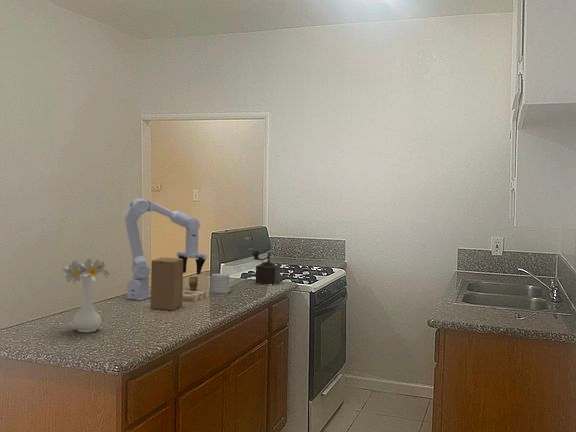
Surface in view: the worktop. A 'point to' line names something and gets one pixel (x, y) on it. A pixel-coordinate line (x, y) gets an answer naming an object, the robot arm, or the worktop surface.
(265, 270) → the coffee grinder
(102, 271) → the flower vase
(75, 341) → the worktop surface
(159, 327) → the worktop surface
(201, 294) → the board
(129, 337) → the worktop surface
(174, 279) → the wooden block
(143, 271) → the robot arm
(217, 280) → the medicine box
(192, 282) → the peg
